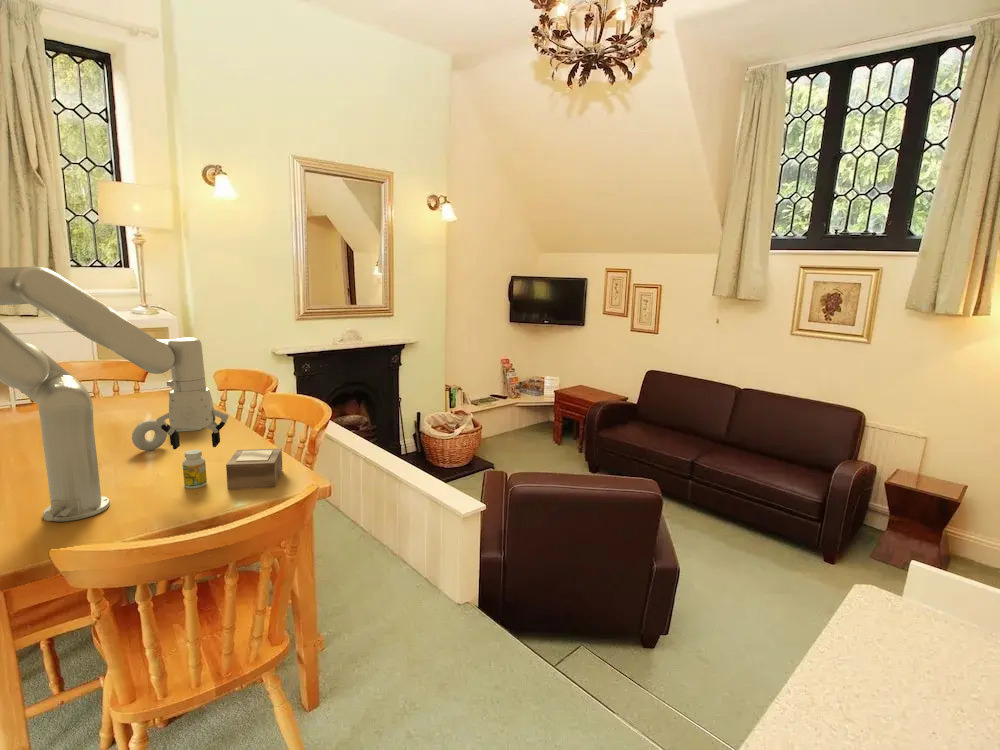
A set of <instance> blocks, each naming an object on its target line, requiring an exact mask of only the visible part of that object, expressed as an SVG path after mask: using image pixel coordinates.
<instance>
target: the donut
mask: <svg viewBox="0 0 1000 750" xmlns="http://www.w3.org/2000/svg"><path fill="white" fill-rule="evenodd" d="M156 420H157V419H147V420H144V421H142V422H140V423H139V424H137V426H135V428H134V429H133V430H132V431H133V432H132V433H131V440H132V443H133V445H134V446H135V447H136V448H137V449H139V450H141V451H146V452H147V451H148V452H149V451H153V450H157V449H159V448H160V447H161V446H162V445H163V444H164V443H165V442H166V440H167V437H168V434H167V432H165V431H164V430H163V429H162V428H161V426H160V425H159V424H158V422H157V421H156ZM149 431H152V432H154V437H152V438H151V439H146V434H147V432H149Z"/></svg>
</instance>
